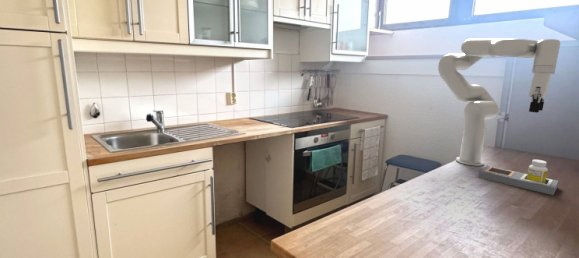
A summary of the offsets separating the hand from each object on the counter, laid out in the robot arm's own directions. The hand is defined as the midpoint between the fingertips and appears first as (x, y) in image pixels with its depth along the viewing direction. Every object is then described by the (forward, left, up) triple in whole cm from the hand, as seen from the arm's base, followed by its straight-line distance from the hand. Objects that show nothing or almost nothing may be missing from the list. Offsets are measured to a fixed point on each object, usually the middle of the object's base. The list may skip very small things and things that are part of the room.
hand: (535, 111), depth 136 cm
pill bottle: (+8, +5, -31) cm, 32 cm away
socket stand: (+8, -1, -30) cm, 31 cm away
